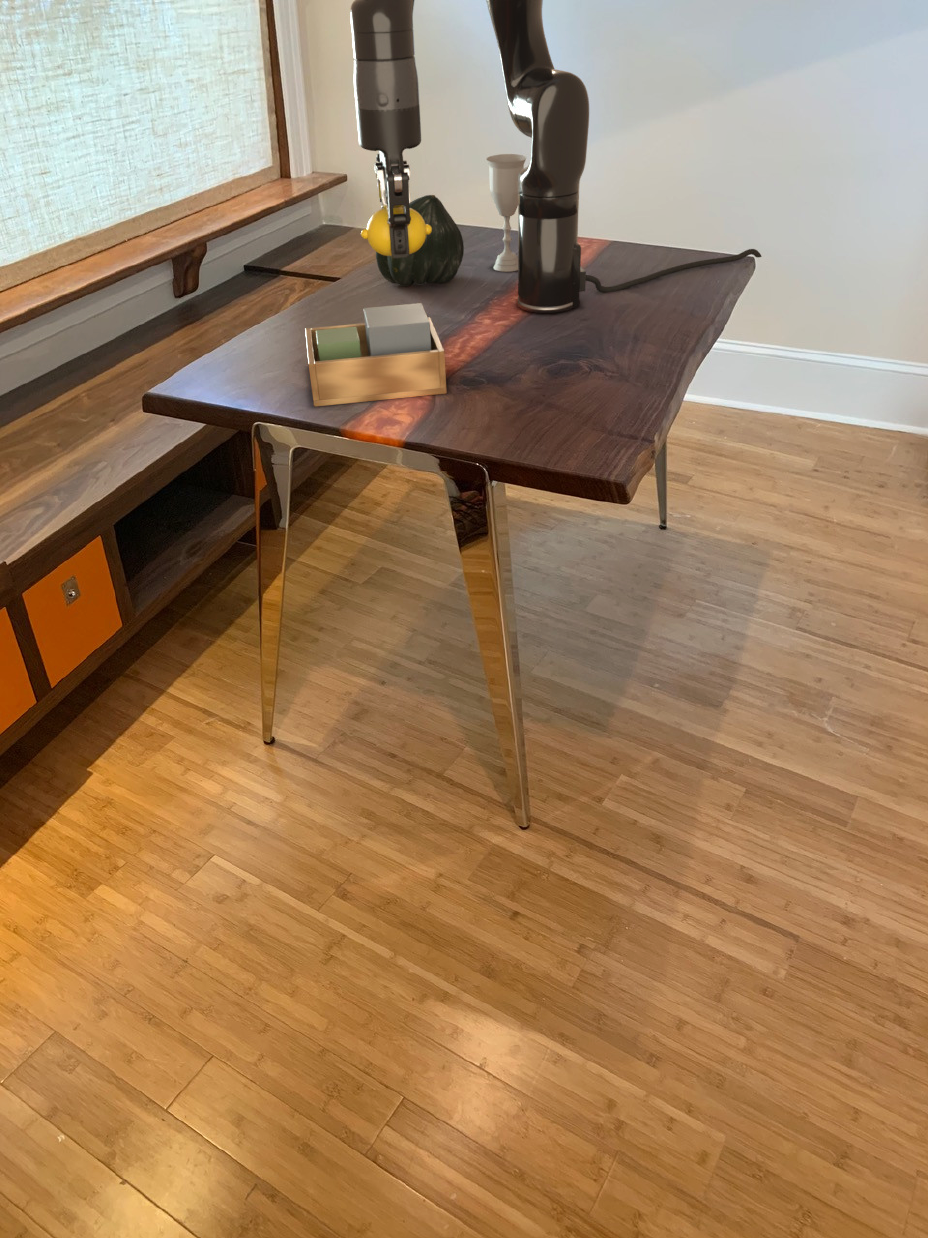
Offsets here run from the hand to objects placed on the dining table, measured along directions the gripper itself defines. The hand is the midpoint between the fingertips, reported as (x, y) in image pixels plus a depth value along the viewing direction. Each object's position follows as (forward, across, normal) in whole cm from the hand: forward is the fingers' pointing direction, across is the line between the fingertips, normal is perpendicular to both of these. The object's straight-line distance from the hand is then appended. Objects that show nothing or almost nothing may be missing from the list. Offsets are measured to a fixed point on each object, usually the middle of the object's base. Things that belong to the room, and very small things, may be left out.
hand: (397, 250), depth 121 cm
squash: (+17, +42, -8) cm, 46 cm away
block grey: (+17, 0, +1) cm, 17 cm away
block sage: (+17, 0, +9) cm, 19 cm away
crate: (+17, 0, +4) cm, 18 cm away
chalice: (+17, +46, -24) cm, 55 cm away
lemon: (+1, 0, 0) cm, 1 cm away
